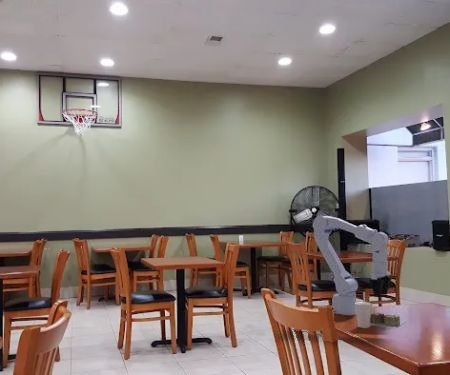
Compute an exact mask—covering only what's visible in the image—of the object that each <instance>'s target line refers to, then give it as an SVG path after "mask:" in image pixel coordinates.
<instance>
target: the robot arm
mask: <svg viewBox="0 0 450 375" xmlns="http://www.w3.org/2000/svg"><path fill="white" fill-rule="evenodd" d="M312 228H313V235H314V241H315V244H316V245H317V247H318V249H319V250H320V252H321V254H322V256H323V258H324V260H325V261H326V263H327V265H328V267H329V269H330V271H331V273H332V274H333V283H334V284H335V290H336V292H337V293H335V294H333V296H332V300H331V303H332V304H331V305H332V307H333V308H334V309H335V311H334V313H333V314H338V315H344V316H356V315H357V314H356V307H355V306H354V305H355V303H356V302H357V291H358V288H359V284H358V281H357V280H356V279H355V278H354V277H352V275H351V273H349V272H348V271H347V270H346V269H345V267H344V264H343V263H342V262H341V260H340V258H339V256H338V254H337V253H336V251H335V249H334V247H333V246H332V244H331V242H330V239H329V238H330V234H331V233H332V231H333V230H334V229H335V228H337V229H340V230H343V231H345V232H350V233H352V234H354V236H355V238H357V239H359V240H362V241H363V242H366V243H368V244H371V245H372V274H371V278H370V277H369V278H368V282H369V283H370V286H371V287H372V293H373V295H374V297H375V298H381V295H386V296H387V295H388V292H389V287H390V284H391V281H392V278H393V277H391V273H390V271H388V270H389V266H388V243H389V241H390V240H389V236H388V234H387V233H385V232H383V231H379V232H378V230H377V228H376V229H373V228H370V227H368V226H367V225H366V224H360V225H358V226H357V225H354V224H352V223H349V222H348V221H346V220H343V219H342V218H338V217H333V216H332V215H318V216H316V217H315V218H314V220H313V222H312ZM332 307H331V308H332Z"/></svg>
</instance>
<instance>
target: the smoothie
mask: <svg viewBox="0 0 450 375" xmlns="http://www.w3.org/2000/svg"><path fill="white" fill-rule="evenodd" d="M362 294H363V301H356V303H355V305H354V306H355V307H356V314H355V315H356V318H357V319H356V320H357V327H359V328H360V329H361V328H362V329H368V328H370V327H371V325H370V317H371V313H372V308H373V303H372V302H368V301H366V292H365V291H363V293H362Z"/></svg>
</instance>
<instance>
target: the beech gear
mask: <svg viewBox="0 0 450 375" xmlns="http://www.w3.org/2000/svg"><path fill="white" fill-rule="evenodd" d="M393 315H394V317H389V314H384V324H386V325H392V326H393V325H400V319H401V316H400V315H397V314H393ZM400 326H401V325H400Z"/></svg>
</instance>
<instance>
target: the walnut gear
mask: <svg viewBox="0 0 450 375" xmlns="http://www.w3.org/2000/svg"><path fill="white" fill-rule="evenodd" d="M375 313H376V312H371V317H370V322H372V323H379V324H381V323H384V315H385V313H381V312H378V313H379V315H375Z"/></svg>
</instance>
